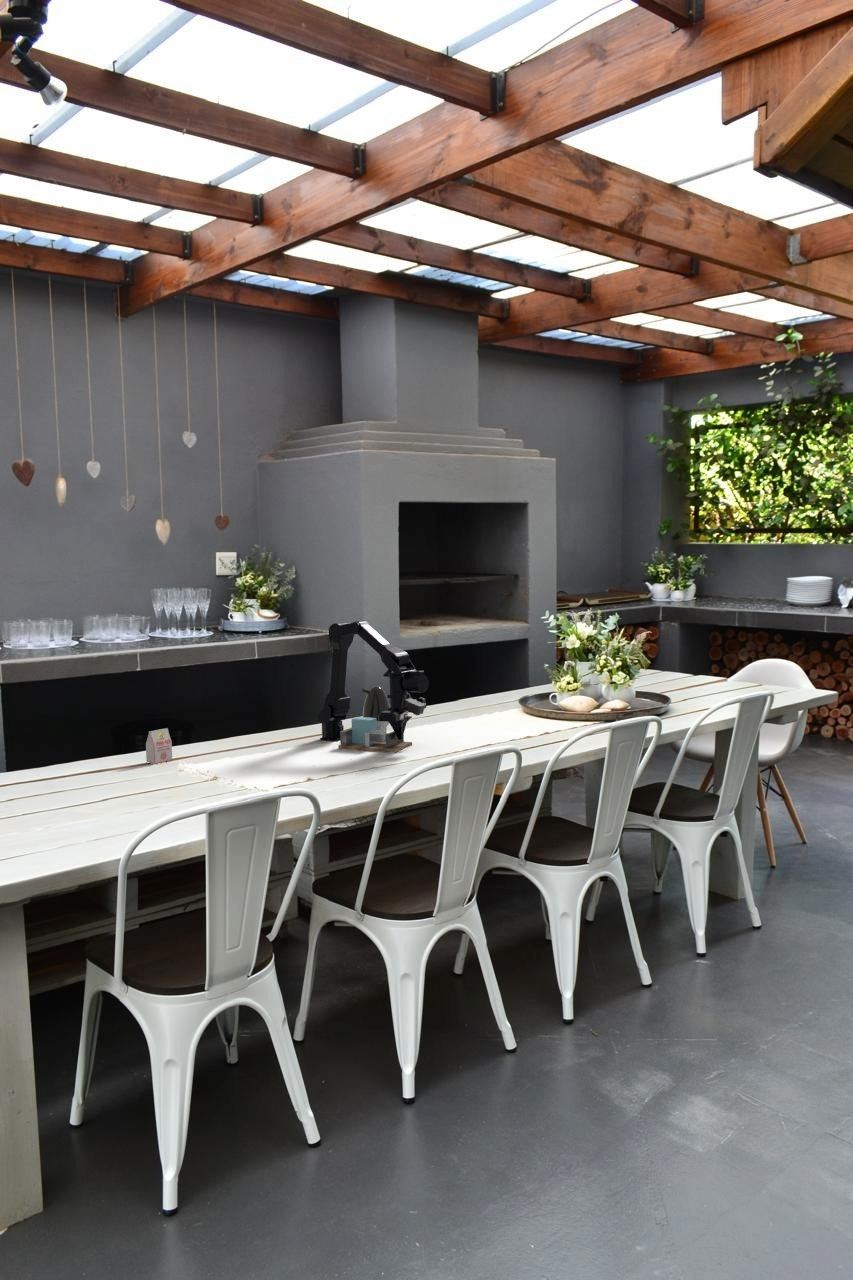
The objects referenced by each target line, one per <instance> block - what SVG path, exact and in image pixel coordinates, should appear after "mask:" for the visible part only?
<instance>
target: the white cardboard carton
mask: <svg viewBox="0 0 853 1280" xmlns="http://www.w3.org/2000/svg"><path fill="white" fill-rule="evenodd" d="M172 744H173V743H172V739H171V736H170V733H169V728H168V727H166V728H161V729H155V730H151V731H150V730H149V731H148V735H147V739H146V742H145V750H146V751H145V753H146V755H145V756H146V759H145V760H146V763H147V762H149V763H151V764H150V765H153V764H156V765H159V764H158V763H160V764H163V763H162V762H165V763H167V762H166V761H169V760H172V761H173V745H172ZM169 762H170V761H169Z"/></svg>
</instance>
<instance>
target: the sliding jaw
mask: <svg viewBox="0 0 853 1280" xmlns="http://www.w3.org/2000/svg"><path fill="white" fill-rule="evenodd" d="M404 740H405V736H404V735H403V739H402V740H399V739H398V738H397V736H396V734H395V732H394V730H393V731H390V732H387V727H380V728H378V729H375V730H372V731H370V732H367V733H365V747H371V746H374V745H376V744H379V743H381V742H386V748H390V747H393V746H395V745H398V744H400V743H402V742H405V741H404Z"/></svg>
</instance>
